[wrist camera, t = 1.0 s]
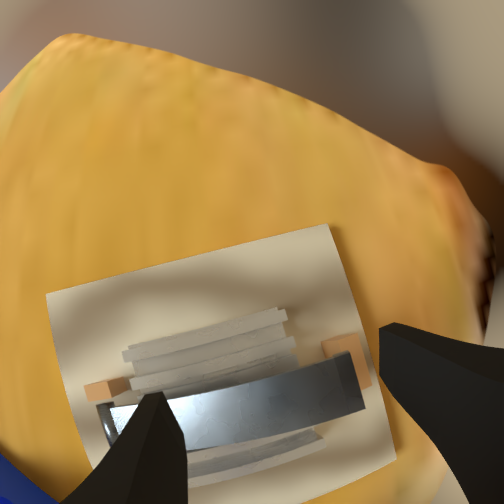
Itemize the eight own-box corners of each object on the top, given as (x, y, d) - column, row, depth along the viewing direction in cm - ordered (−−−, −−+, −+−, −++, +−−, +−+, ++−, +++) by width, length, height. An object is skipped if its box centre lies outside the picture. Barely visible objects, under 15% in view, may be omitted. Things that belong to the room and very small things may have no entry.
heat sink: (313, 439, 19) (327, 451, 17) (176, 478, 18) (171, 496, 15) (273, 309, 22) (283, 303, 19) (131, 346, 20) (119, 345, 17)
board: (389, 455, 21) (396, 459, 19) (130, 530, 16) (126, 537, 15) (322, 228, 25) (327, 223, 24) (52, 296, 21) (45, 294, 20)
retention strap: (363, 407, 14) (368, 415, 13) (123, 453, 16) (111, 460, 15) (345, 344, 15) (349, 347, 14) (105, 401, 17) (91, 406, 15)
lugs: (355, 397, 21) (379, 403, 17) (130, 461, 17) (117, 480, 14) (332, 318, 22) (353, 312, 19) (102, 380, 19) (83, 385, 15)
